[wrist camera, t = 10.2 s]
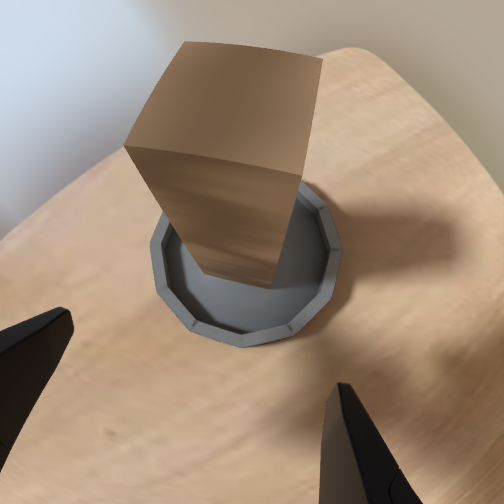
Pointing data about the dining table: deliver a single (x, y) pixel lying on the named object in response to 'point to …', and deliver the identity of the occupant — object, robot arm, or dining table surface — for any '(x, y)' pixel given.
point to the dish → (246, 296)
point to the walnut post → (228, 152)
